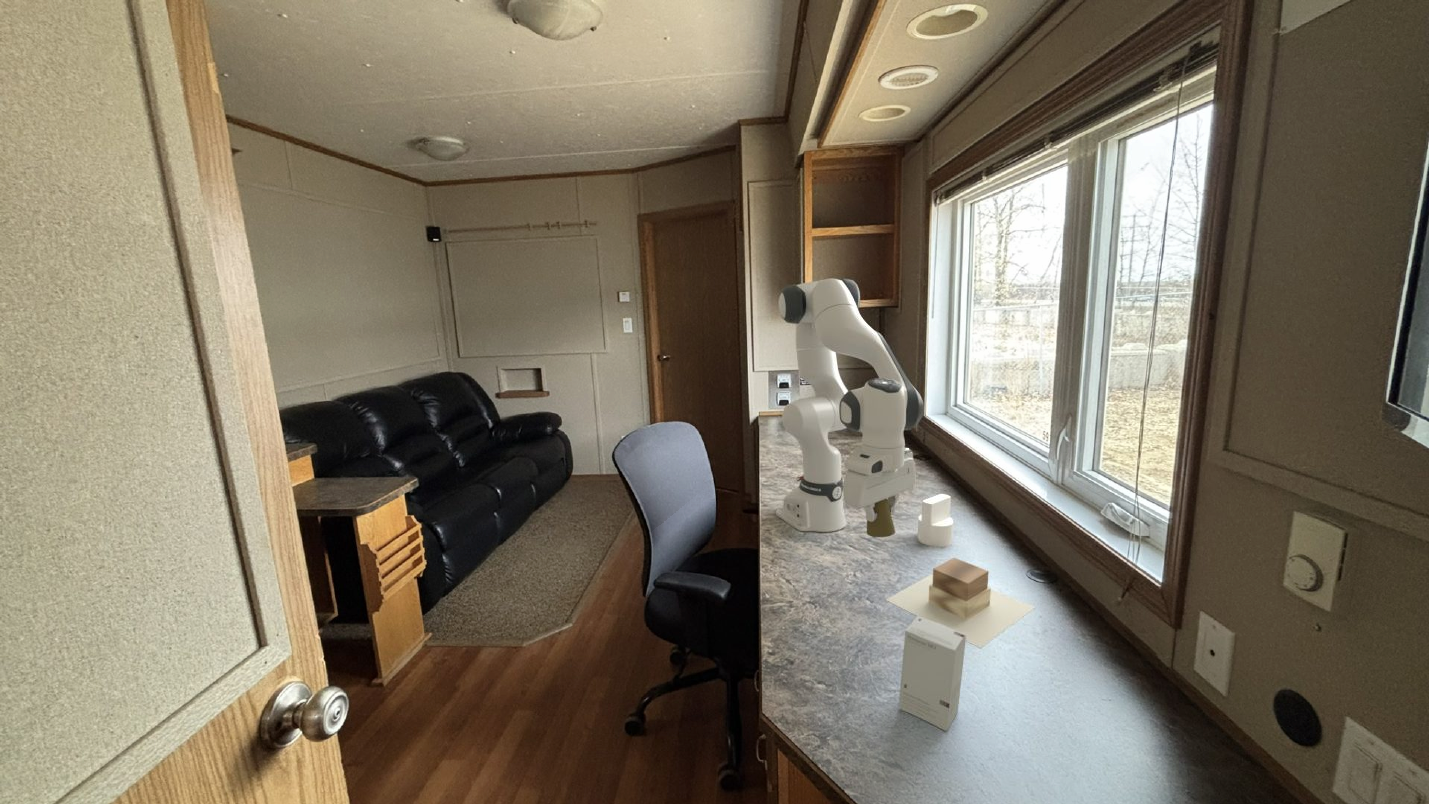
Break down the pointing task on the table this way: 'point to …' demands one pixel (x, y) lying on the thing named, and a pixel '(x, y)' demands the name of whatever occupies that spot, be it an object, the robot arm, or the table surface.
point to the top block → (960, 578)
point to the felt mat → (976, 628)
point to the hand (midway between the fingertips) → (880, 516)
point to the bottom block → (959, 602)
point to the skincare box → (932, 672)
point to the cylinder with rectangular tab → (936, 522)
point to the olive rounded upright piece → (881, 521)
